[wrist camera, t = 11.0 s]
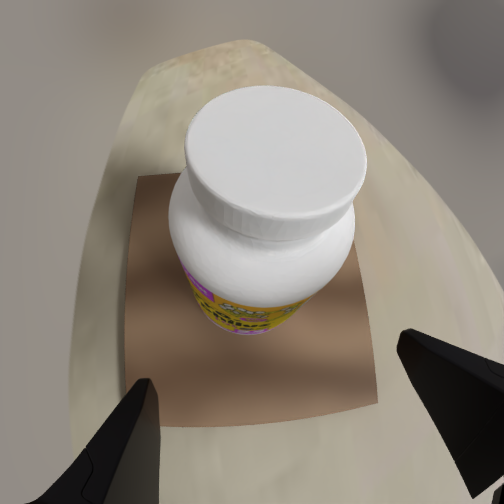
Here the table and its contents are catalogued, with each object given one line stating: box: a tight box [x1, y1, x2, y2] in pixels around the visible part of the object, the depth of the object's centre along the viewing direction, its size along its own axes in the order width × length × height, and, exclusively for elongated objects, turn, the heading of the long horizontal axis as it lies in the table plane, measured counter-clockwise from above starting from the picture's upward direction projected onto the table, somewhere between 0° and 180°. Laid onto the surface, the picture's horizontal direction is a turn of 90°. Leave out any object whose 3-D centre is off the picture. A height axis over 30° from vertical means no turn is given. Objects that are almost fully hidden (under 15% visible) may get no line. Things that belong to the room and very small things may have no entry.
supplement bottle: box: [168, 85, 367, 335], centre depth 13 cm, size 7×7×13 cm
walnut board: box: [124, 173, 378, 427], centre depth 19 cm, size 18×16×1 cm
